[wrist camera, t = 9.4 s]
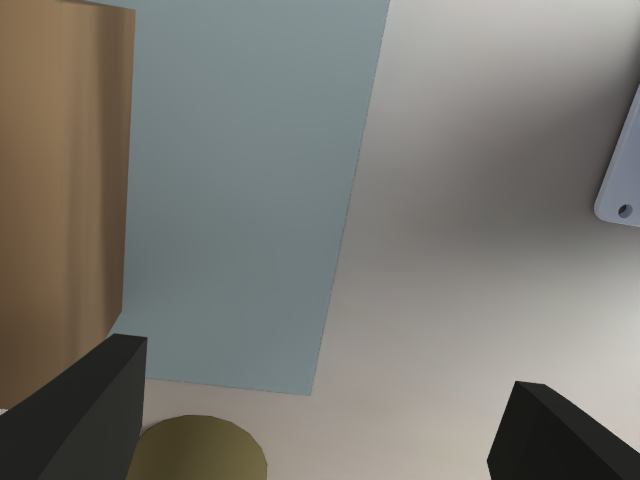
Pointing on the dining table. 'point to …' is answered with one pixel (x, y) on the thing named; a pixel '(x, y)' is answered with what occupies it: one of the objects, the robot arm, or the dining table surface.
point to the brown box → (61, 183)
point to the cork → (197, 452)
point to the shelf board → (241, 181)
